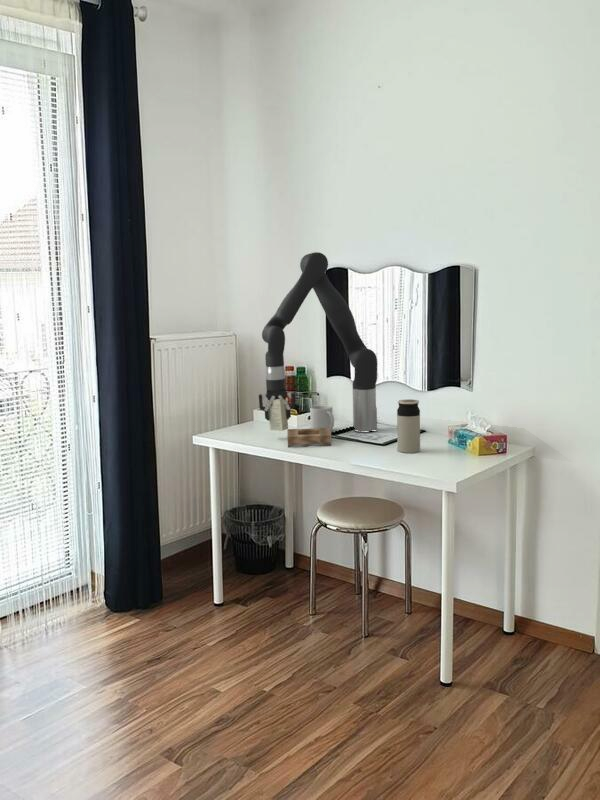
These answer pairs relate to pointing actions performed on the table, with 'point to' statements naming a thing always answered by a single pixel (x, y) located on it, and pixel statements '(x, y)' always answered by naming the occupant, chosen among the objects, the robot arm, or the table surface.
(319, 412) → the mug
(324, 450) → the table surface
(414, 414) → the travel mug
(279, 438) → the table surface
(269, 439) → the table surface
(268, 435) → the table surface
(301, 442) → the socket board
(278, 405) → the skincare box
